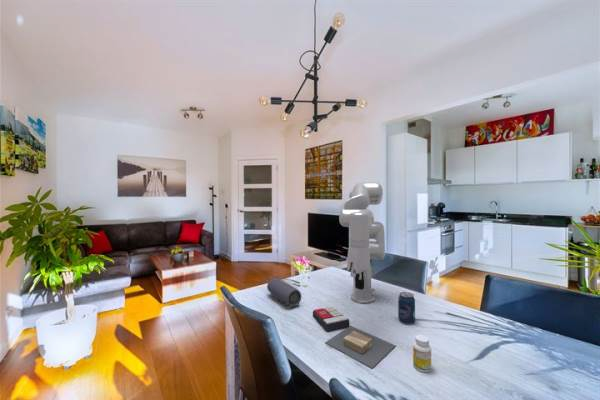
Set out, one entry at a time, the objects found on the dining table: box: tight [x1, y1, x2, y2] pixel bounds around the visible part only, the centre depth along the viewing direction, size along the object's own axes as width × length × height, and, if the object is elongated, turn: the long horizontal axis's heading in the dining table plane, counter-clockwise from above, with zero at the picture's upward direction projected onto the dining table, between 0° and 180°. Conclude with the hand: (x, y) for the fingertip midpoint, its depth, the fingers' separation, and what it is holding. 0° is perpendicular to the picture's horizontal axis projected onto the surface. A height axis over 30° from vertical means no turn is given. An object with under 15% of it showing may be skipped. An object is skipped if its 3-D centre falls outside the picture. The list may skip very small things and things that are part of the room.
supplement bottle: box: [412, 334, 432, 373], centre depth 81 cm, size 5×5×10 cm
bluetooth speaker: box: [266, 277, 302, 307], centre depth 133 cm, size 23×9×10 cm, turn 34°
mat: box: [325, 325, 397, 370], centre depth 93 cm, size 17×20×1 cm
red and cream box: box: [312, 306, 350, 333], centre depth 111 cm, size 11×4×15 cm
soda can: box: [397, 291, 416, 325], centre depth 110 cm, size 7×7×12 cm
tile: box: [343, 331, 372, 354], centre depth 92 cm, size 3×8×7 cm
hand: (359, 288), depth 98 cm, fingers closed
